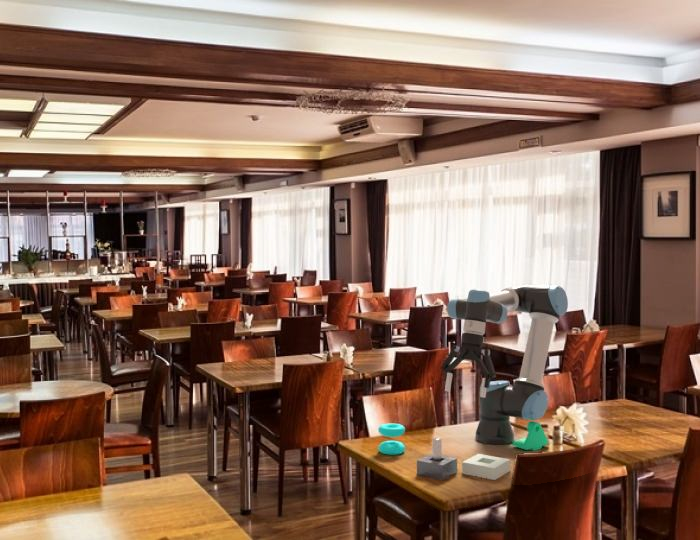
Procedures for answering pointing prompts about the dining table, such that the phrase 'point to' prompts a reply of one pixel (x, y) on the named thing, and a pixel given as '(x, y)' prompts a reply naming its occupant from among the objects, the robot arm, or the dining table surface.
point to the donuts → (391, 446)
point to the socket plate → (486, 466)
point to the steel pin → (437, 449)
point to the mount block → (437, 467)
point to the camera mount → (532, 438)
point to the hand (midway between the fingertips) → (464, 394)
